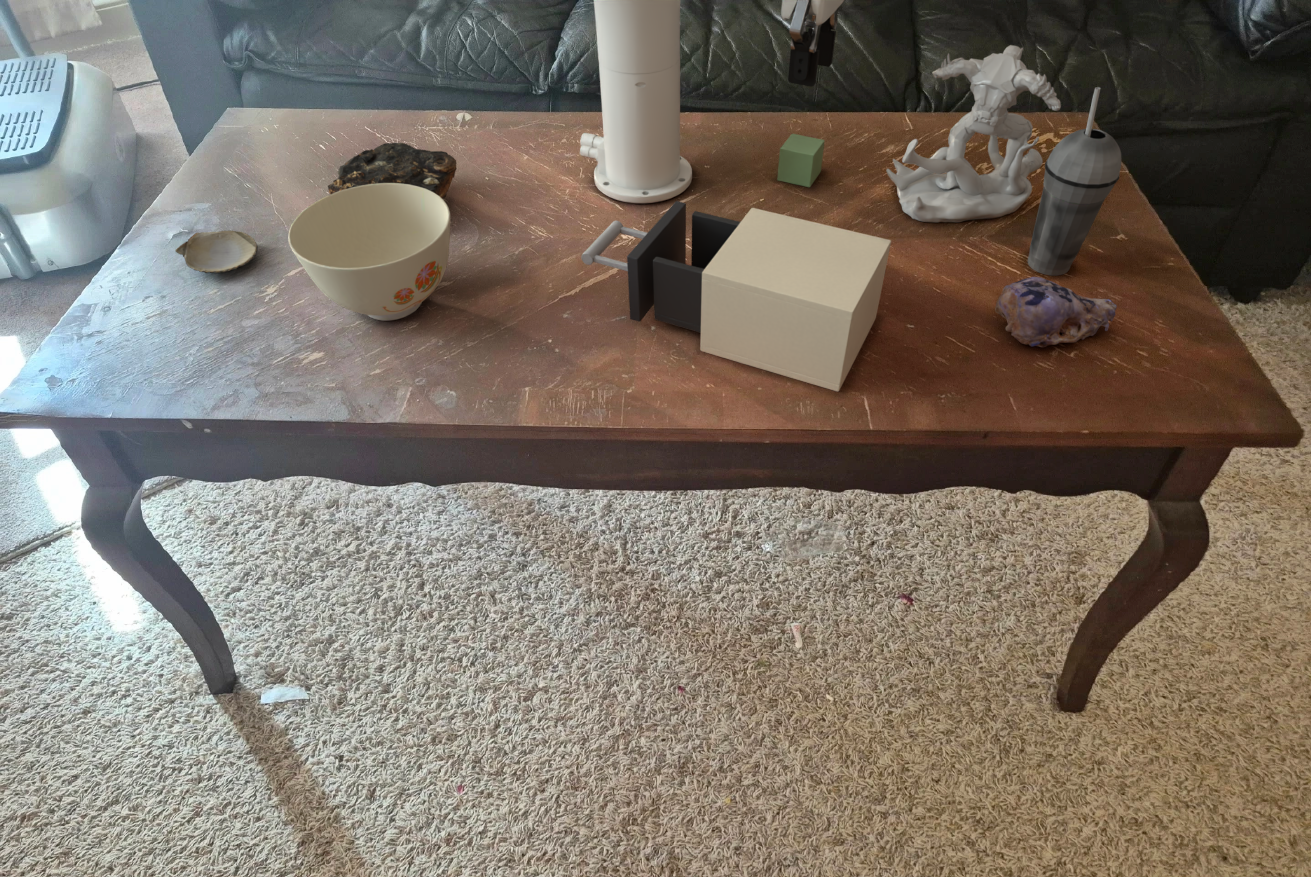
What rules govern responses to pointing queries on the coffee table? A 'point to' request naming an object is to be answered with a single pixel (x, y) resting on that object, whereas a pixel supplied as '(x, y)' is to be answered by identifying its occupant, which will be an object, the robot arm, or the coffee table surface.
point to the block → (800, 160)
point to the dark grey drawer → (667, 264)
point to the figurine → (1008, 182)
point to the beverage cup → (1073, 195)
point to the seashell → (218, 251)
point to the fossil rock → (398, 168)
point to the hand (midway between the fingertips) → (810, 72)
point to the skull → (1051, 312)
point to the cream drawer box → (792, 297)
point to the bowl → (375, 247)
